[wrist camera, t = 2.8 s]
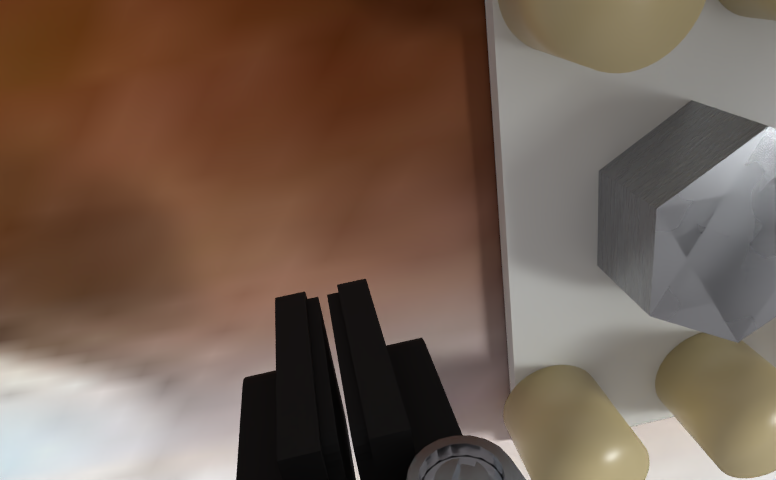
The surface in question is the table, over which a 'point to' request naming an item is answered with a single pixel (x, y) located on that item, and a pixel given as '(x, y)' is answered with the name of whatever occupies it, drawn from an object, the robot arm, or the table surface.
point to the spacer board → (580, 231)
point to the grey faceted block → (694, 222)
